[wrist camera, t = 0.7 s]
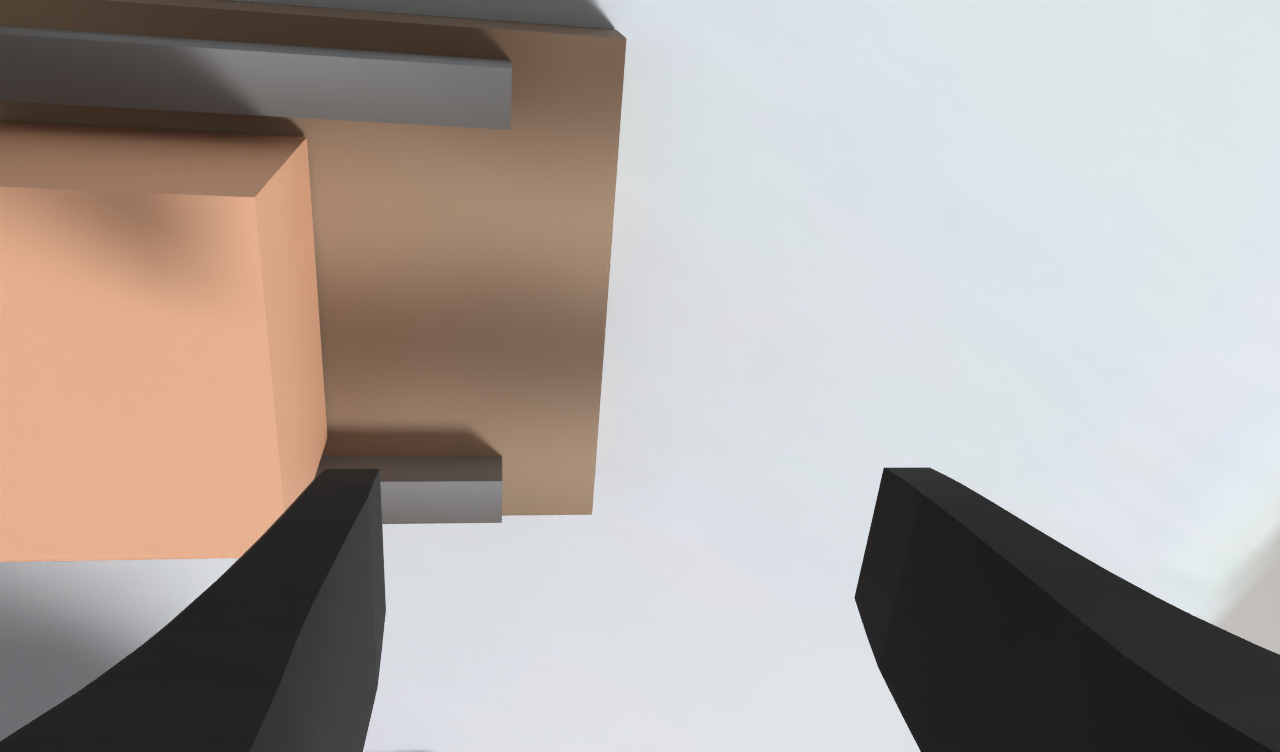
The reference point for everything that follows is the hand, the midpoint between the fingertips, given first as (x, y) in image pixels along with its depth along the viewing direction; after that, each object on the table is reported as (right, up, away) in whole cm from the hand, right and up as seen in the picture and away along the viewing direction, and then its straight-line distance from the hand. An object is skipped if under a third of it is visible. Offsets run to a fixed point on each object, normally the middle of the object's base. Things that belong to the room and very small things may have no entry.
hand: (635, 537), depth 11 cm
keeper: (-8, +4, +6) cm, 11 cm away
